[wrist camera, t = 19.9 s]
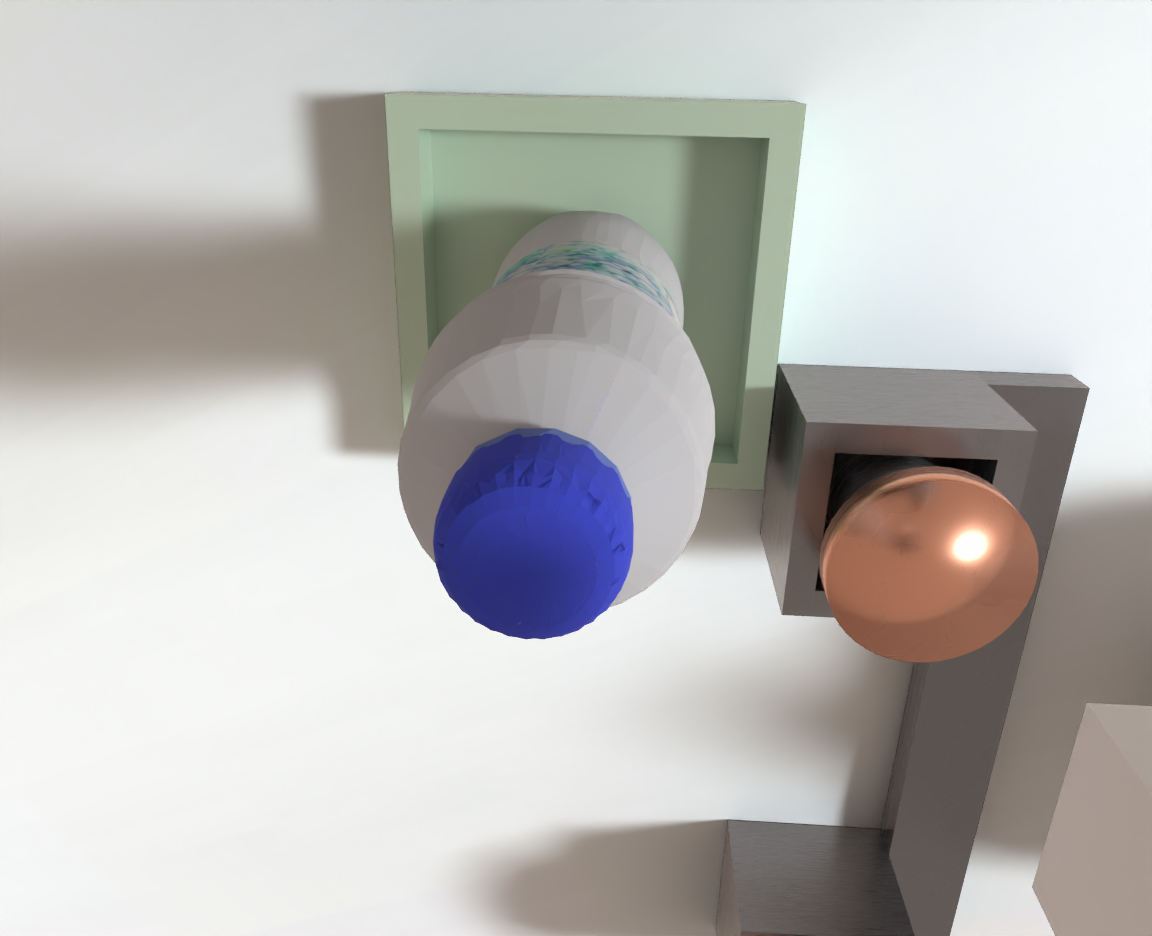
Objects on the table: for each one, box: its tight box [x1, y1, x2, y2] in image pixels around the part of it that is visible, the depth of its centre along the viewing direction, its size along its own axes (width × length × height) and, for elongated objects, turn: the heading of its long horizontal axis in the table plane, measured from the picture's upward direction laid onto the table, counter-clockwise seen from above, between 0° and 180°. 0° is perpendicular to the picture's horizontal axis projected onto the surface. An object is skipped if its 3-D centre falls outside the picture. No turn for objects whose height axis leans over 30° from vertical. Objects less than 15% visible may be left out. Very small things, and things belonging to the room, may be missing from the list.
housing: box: [716, 364, 1090, 936], centre depth 37 cm, size 29×10×6 cm, turn 179°
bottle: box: [398, 211, 715, 639], centre depth 24 cm, size 7×7×20 cm
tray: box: [385, 92, 806, 491], centre depth 32 cm, size 13×13×2 cm
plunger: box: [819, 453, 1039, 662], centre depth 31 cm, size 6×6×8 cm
